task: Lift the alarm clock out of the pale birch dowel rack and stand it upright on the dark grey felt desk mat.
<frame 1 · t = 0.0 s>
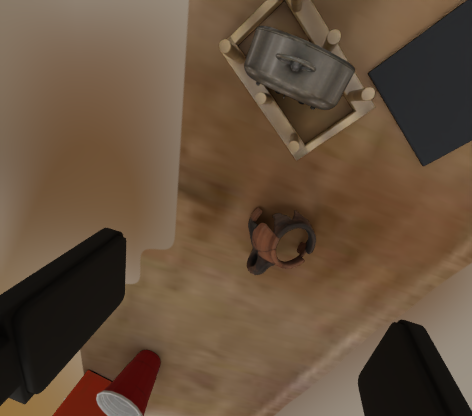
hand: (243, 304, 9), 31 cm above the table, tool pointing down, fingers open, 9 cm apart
dowel rack: (295, 78, 33), on the table
plastic cup: (149, 357, 62), on the table
pottery mug: (275, 231, 42), on the table
file binder: (115, 390, 71), on the table
alarm clock: (295, 78, 34), resting in dowel rack
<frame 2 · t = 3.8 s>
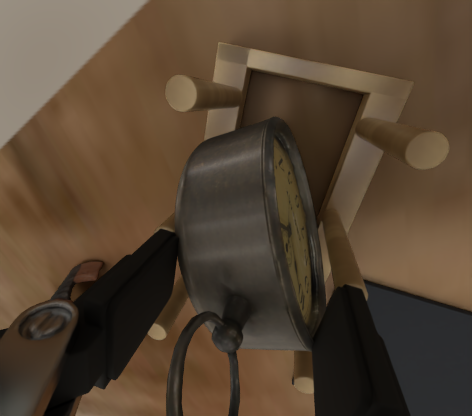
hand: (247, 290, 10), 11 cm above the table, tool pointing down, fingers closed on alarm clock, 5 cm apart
dowel rack: (274, 193, 20), on the table
pottery mug: (102, 297, 29), on the table
alarm clock: (274, 193, 20), resting in dowel rack, touching gripper
desk mat: (415, 366, 23), on the table
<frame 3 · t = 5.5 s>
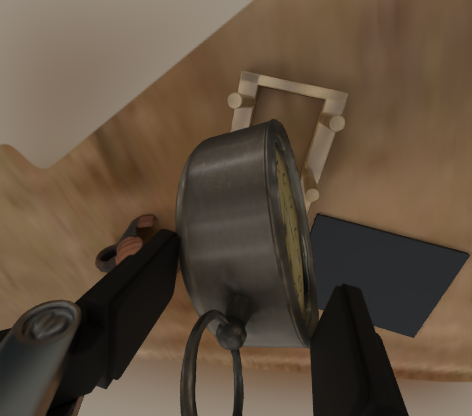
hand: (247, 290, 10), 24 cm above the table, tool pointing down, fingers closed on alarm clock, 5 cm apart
dowel rack: (273, 161, 31), on the table
pottery mug: (151, 244, 40), on the table
alarm clock: (266, 194, 20), point 12 cm above the table, touching gripper
desk mat: (367, 277, 34), on the table
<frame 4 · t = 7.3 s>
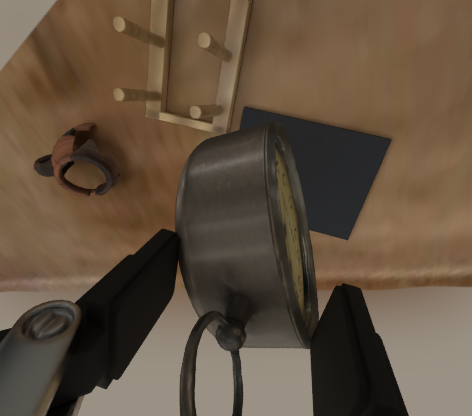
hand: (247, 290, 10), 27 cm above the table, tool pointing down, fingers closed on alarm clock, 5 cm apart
dowel rack: (198, 51, 32), on the table
pottery mug: (94, 157, 41), on the table
alarm clock: (266, 194, 20), point 16 cm above the table, touching gripper
desk mat: (298, 176, 35), on the table
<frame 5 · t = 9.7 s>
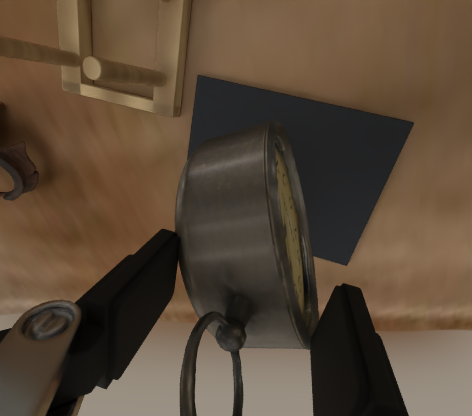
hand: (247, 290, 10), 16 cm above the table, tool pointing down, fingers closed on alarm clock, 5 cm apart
pottery mug: (10, 148, 30), on the table
alarm clock: (266, 194, 20), point 5 cm above the table, touching gripper
desk mat: (278, 176, 24), on the table
when the fingers open (12 cm above the table, at t = 11.3 s): alarm clock stays where it is, resting on desk mat.
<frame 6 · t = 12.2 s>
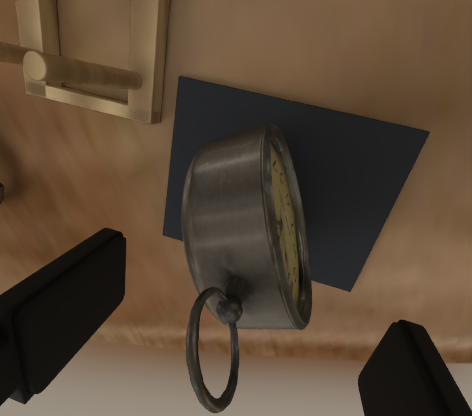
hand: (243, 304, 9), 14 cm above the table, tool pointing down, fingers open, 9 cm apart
alarm clock: (266, 192, 21), resting on desk mat
desk mat: (272, 191, 21), on the table
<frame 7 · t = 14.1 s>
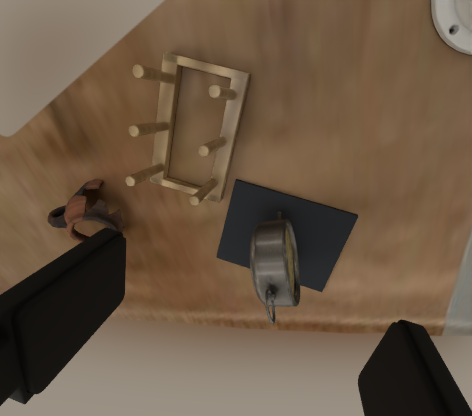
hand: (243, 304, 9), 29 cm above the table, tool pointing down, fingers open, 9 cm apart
dowel rack: (197, 132, 37), on the table
pottery mug: (101, 207, 45), on the table
alarm clock: (277, 238, 40), resting on desk mat
desk mat: (281, 237, 40), on the table
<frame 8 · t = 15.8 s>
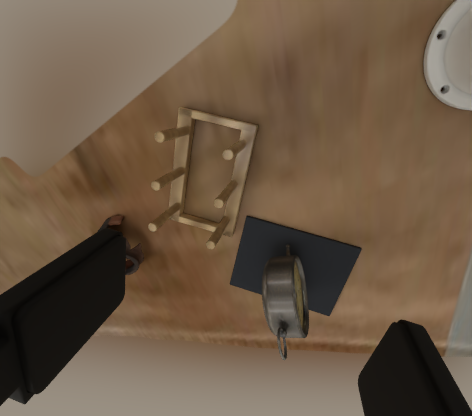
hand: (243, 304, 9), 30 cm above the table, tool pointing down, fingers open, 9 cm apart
dowel rack: (210, 174, 40), on the table
pottery mug: (122, 238, 49), on the table
alarm clock: (286, 267, 43), resting on desk mat
desk mat: (289, 266, 43), on the table
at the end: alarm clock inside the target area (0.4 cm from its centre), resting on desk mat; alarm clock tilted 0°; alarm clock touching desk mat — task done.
